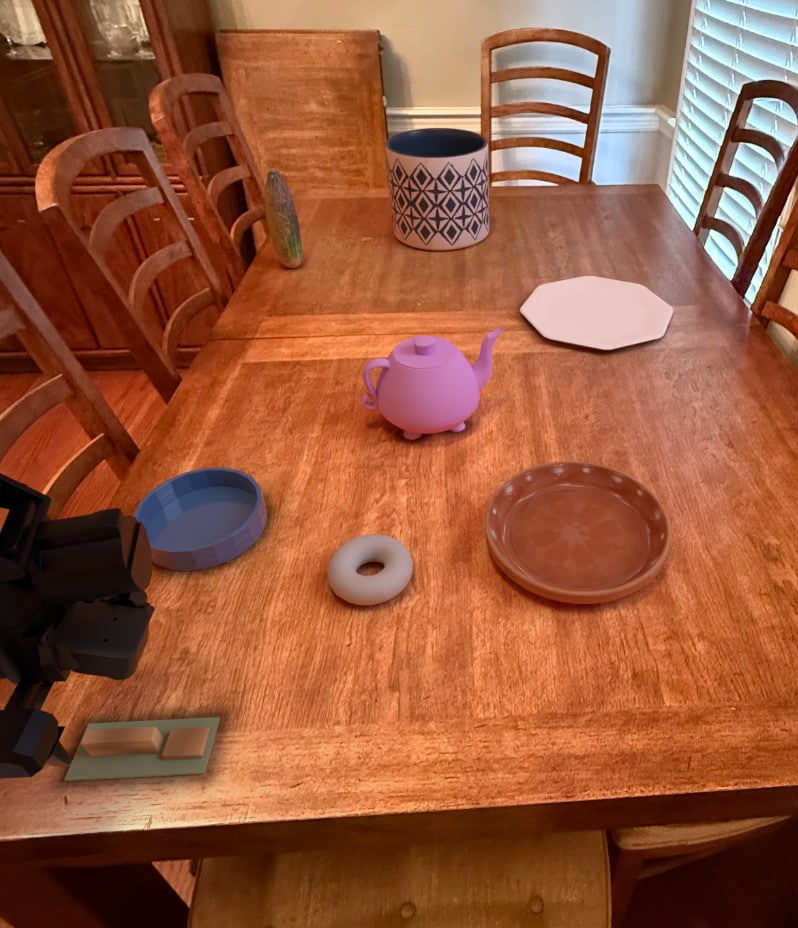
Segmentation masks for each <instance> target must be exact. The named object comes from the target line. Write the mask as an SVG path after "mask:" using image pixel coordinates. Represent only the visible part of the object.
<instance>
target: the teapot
mask: <svg viewBox="0 0 798 928" xmlns="http://www.w3.org/2000/svg"><path fill="white" fill-rule="evenodd" d="M504 331H505V329H504V328H497V329H494V330H492V331H490V332H489V333H487V335H485V337H483V339H482V342H481V344H480V351H479V356H478V359H477V360H476V361H475V362H474V363H473V364H472V365H471V363H470V362H469V361H468V359H467V358H466V356H465V355H464V354H463V353H462V351H461V350H460V349H459V348H458V347H457V346H456V345H455V344H454V343H453V342H452V341H450V340H449V339H447V338H444V337H441V336H436V335H428V334H422V335H421V334H420V335H417V336H413V337H410V338H407V339H404V340H402V341H401V342H399V343H397V344H396V345H395V346H394V347H393V348H392V350H391V351H390V353H389V354H388V356H387V358H383V357H378V358H377V357H376V358H374V359H371V360H369V361H368V362H366V363H365V365H364V366H363V367H362V372H361V375H362V380H363V384H364V386H365V388H366V390H367V392H366V393H365V394H363V395H362V397H361V398H360V403H361V406H362V408H363V409H365V410H367V411H376V410H377V409H378V411H379V412H380V414H381V415H382V417H383V418H384V419H385V420H386V421H387V422H390V423H391V424H392V425H394V426H396V427H397V428H399V429H401V430H403V437H404V438H405V439H406V440H417V439H419V438H420V437H421V436H422V435H423V434H426V435H427V434H437V433H442V432H446V431H451V432H452V433H453V432H454V433H458V432H462V431H463V430H464V429H466V424H465V421H466V420H467V419H468V418H470V417H471V416H472V415H473V413H474V412H475V411H476V409H477V408H478V405H479V403H480V399H481V393H480V392H481V390H482V389H484V387H485V386H486V385H487V384H488V382H489V380H490V378H491V376H492V372H493V349H494V345H495V343H496V341H497V340H498V338H499V337H500V336H501V335H502V334H503V333H504ZM379 368H381V369H380V372H379V375H378V377H377V381H376V387H375V386H374V384H373V382H372V380H371V377H370V373H371V371H373V370H375V369H379ZM368 400H372V401H368Z"/></svg>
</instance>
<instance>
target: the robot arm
mask: <svg viewBox="0 0 798 928" xmlns="http://www.w3.org/2000/svg"><path fill="white" fill-rule="evenodd" d="M52 502H53V499H52V497H51V496H48V495H47V494H44V493H42V492H40V491H38V490H36V489H34V488H33V487H30V486H29V485H28V484H26V483H24V482H21V481H18V480H16V479H14V478H12V477H11V476H10V477H9V476H8V475H6V474H3V473H1V472H0V509H4V510H8V512H7V514H6V516H5V519H4V522H3V524H2V526H1V529H0V680H7V681H8V682H9V683H11V684H14V685H16V686H15V687H14V690H13V692H12V693H11V695H10V697H9V699H8V701H7V702H6V704H5V706H4V708H3V709H0V780H1V779H19V778H32V777H34V776H35V775H36V774H38V773H39V772H41V771H42V770H43V769H44V767H45V766H51V767H57V768H58V767H59V768H60V767H70V765H71V762H72V758H71V757H70V755H69V752H68V751H67V750H66V748H65V747H64V745H63V744H62V743H61V741H60V739H61V737H62V735H63V733H64V731H65V729H66V726H65V725H59V721H58V719H57V718H56V717H55V715H54V714H53V713H50V712H48V711H44V709H45V707H46V705H47V703H48V701H49V699H50V697H51V695H52V693H53V691H54V688H55V687H56V685H57V683H61V682H63V683H64V682H67V681H68V679H69V677H70V674H71V673H72V672H73V673H76V674H81V675H87V676H88V675H89V676H95V677H103V678H109V679H111V680H114V681H124V680H128V679H130V678H132V677H133V676H134V674H135V673H136V671H137V669H138V666H139V663H140V660H141V658H142V655H143V654H144V650H145V648H146V647H147V645H148V641H149V633H150V632H149V631H150V622H151V619H152V617H153V615H154V613H155V607H154V606H153V605H151V602H148V598H149V597H148V594H147V592H146V591H145V590H147V589H148V588H149V587H150V584H151V582H152V578H153V577H152V576H153V562H152V554H151V547H150V542H149V538H148V535H147V532H146V529H145V527H144V525H143V523H142V522H139V521H138V520H137V519H136V518H135V517H133V515H124V513H123V511H122V509H121V508H118V507H113V508H106V509H101V510H98V511H95V512H91V513H88V514H82V515H76V516H70V517H64V518H58V519H57V518H56V519H51V517H50V516H49V514H48V513H49V510H50V508H51V505H52Z"/></svg>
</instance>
